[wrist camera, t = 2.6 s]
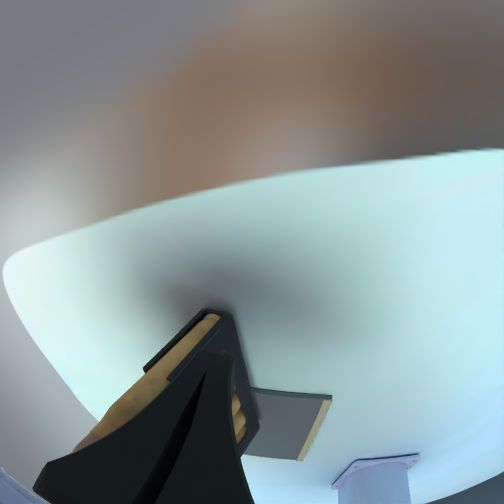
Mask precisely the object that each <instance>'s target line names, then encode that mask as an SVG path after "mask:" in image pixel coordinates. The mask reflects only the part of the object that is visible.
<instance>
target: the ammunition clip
mask: <svg viewBox="0 0 504 504" xmlns="http://www.w3.org/2000/svg"><path fill="white" fill-rule="evenodd" d="M198 350H199V351H205V352H211V353H216V354H222V355H229V356H232V357H233V358H235V377H234V393H233V400H232V414H233V422H234V429H235V435H236V441H237V446H238V450H239V455H240V458H241V456H242V455H243V453H244V452H245V450H246V449H247V447H248V446H249V444H250V443H251V441H252V440H253V438H254V437H255V435H256V434H257V432H258V431H259V429H260V425H259V421H258V417H257V414H256V410H255V406H254V402H253V398H252V394H251V390H250V387H249V383H248V379H247V375H246V371H245V367H244V362H243V358H242V354H241V350H240V346H239V342H238V338H237V333H236V329H235V325H234V321H233V316H232V315H231V314H229V313H227V312H220V311H214V310H208V309H202V310H201V311H200V312H199V313H198V314H197V315H196V316H195V317H194V318H193V319H192V320H191V321H190V322H189V323H188V324H187V325H186V326H185V327H184V328H183V329H182V330H181V331H180V332H179V333H178V334H177V335H176V336H175V337H174V338H173V339H172V340H171V341H170V342H169V343H168V344H167V345H166V346H165V347H164V348H162V349H161V350H160V351H159V352H158V353H157V354H156V355H155V356H154V357H153V358H152V359H151V360H150V361H149V362H148V363H147V364H146V365H145V366H144V367H143V370H144V372H145V375H144V376H142V377H141V378H140V379H139V380H138V381H137V382H136V383H135V384H134V385H133V386H132V387H131V388H130V389H129V390H128V391H127V392H125V393H124V394H123V395H122V396H121V397H120V398H119V399H118V400H117V401H116V402H115V403H114V404H113V405H112V406H111V407H110V408H109V410H108V411H107V412H106V414H105V415H104V417H103V418H102V420H101V421H100V422H99V423H98V424H97V425H96V426H95V427H94V428H93V429H92V430H91V431H90V433H89V434H88V435H87V436H86V437H85V438H84V439H83V440H82V441H81V442H80V443H79V444H78V445H77V446H76V447H75V449H74V450H73V451H72V452H71V453H74V452H76V451H78V450H80V449H82V448H84V447H86V446H88V445H90V444H92V443H94V442H96V441H98V440H99V439H101V438H103V437H105V436H106V435H108V434H109V433H111V432H112V431H114V430H115V429H117V428H118V427H120V426H121V425H123V424H124V423H126V422H127V421H128V420H130V419H131V418H132V417H133V416H135V415H136V414H137V413H138V412H140V411H141V410H142V409H143V408H144V407H145V406H147V405H148V404H149V403H150V402H151V401H152V400H153V399H154V398H155V397H156V396H157V395H158V394H159V393H160V392H161V391H162V390H163V389H164V388H165V387H166V386H167V385H168V384H169V383H170V382H171V381H172V380H173V379H174V378H175V377H176V376H177V374H178V373H179V372H180V371H181V370H182V369H183V368H184V366H185V365H186V364H187V363H188V361H189V360H190V359H191V358H192V356H193V355H194V354H195V352H197V351H198ZM71 453H70V454H71Z"/></svg>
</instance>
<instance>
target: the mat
mask: <svg viewBox="0 0 504 504" xmlns="http://www.w3.org/2000/svg"><path fill="white" fill-rule="evenodd" d="M250 390H251V394H252V398H253V402H254V406H255V410H256V414H257V417H258V421H259V425H260V429H259V431H258V432H257V434H256V435H255V437H254V438H253V440H252V441H251V443H250V444H249V446H248V447H247V449H246V450H245V452H244V453H243V454H245V455H252V456H260V457H269V458H279V459H292V460H296V461H303V459H304V457H305V455H306V454H307V452H308V450H309V448H310V446H311V444H312V442H313V440H314V438H315V436H316V434H317V432H318V430H319V428H320V426H321V424H322V422H323V420H324V418H325V416H326V414H327V411H328V409H329V407H330V405H331V403H332V395H316V394H302V393H290V392H280V391H271V390H263V389H255V388H250Z"/></svg>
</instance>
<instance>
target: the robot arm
mask: <svg viewBox="0 0 504 504" xmlns="http://www.w3.org/2000/svg"><path fill="white" fill-rule="evenodd" d="M234 377H235V358H233V357H232V356H229V355H222V354H216V353H211V352H205V351H199V350H198V351H197V352H195V354H194V355H193V356H192V358H191V359H190V360H189V361H188V363H187V364H186V365H185V366H184V368H183V369H182V370H181V371H180V372H179V373H178V374H177V376H176V377H175V378H174V379H173V380H172V381H171V382H170V383H169V384H168V385H167V386H166V387H165V388H164V389H163V390H162V391H161V392H160V393H159V394H158V395H157V396H156V397H155V398H154V399H153V400H152V401H151V402H150V403H149V404H148V405H147V406H145V407H144V408H143V409H142V410H141V411H140V412H138V413H137V414H136V415H135V416H133V417H132V418H131V419H130V420H128V421H127V422H126V423H124V424H123V425H121V426H120V427H118V428H117V429H115V430H114V431H112V432H111V433H109V434H108V435H106V436H105V437H103V438H101V439H99V440H98V441H96V442H94V443H92V444H90V445H88V446H86V447H84V448H82V449H80V450H78V451H76V452H74V453H71V454H69V455H66V456H63V457H61V458H58V459H56V460H53V461H50V462H47V464H46V465H45V467H44V468H43V469H42V471H41V473H40V475H39V476H38V478H37V480H36V482H35V484H34V486H33V491H34V492H35V493H37V494H38V495H39V496H41V497H42V498H43V499H45V500H46V501H48V502H49V503H51V504H255V503H254V501H253V498H252V495H251V492H250V489H249V486H248V483H247V480H246V477H245V474H244V470H243V467H242V463H241V459H240V455H239V450H238V446H237V441H236V435H235V429H234V422H233V414H232V400H233V393H234ZM419 459H420V455H412V456H405V457H397V458H387V459H376V460H360V461H355V462H354V463H353V464H352V465H351V466H350V467H349V468H348V469H347V470H346V471H345V472H344V474H343V475H342V476H341V477H340V478H339V479H338V480H337V481H336V482H335V483H334V484H333V485H332V486H331V489H338V504H411V500H410V491H409V482H408V475H407V469H408V468H409V467H411V466H412V465H413V464H414V463H415V462H416V461H417V460H419ZM0 504H47V503H46V502H44V501H43V500H41V499H40V498H38V497H37V496H36V495H34V494H33V493H32V492H30V491H29V490H27V489H26V488H25V487H23V486H22V485H21V484H20V483H18V482H17V481H16V480H15V479H13V478H12V477H11V476H10V475H9V474H7V473H6V472H5V470H4V469H3V468H2V467H1V466H0Z"/></svg>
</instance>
